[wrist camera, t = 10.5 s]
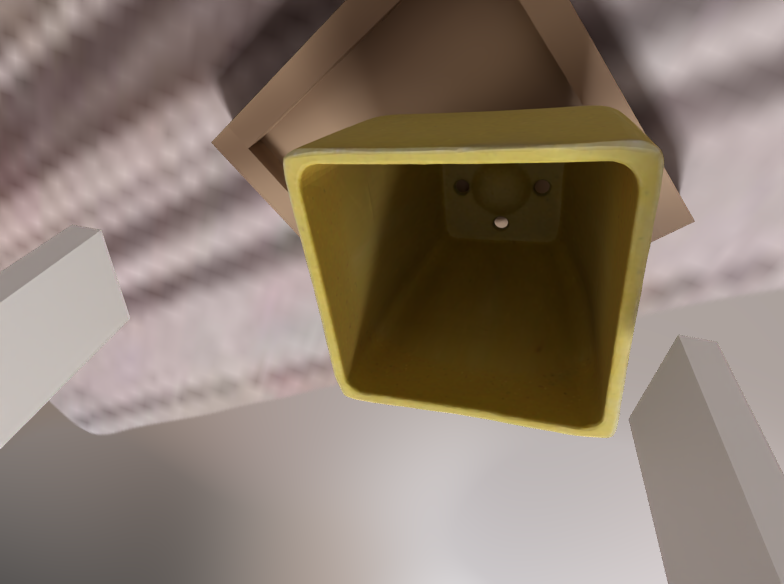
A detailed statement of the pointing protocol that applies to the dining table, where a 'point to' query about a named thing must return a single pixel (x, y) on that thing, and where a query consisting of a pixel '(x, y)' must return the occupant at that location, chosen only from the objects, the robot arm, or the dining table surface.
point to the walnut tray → (425, 81)
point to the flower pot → (481, 259)
